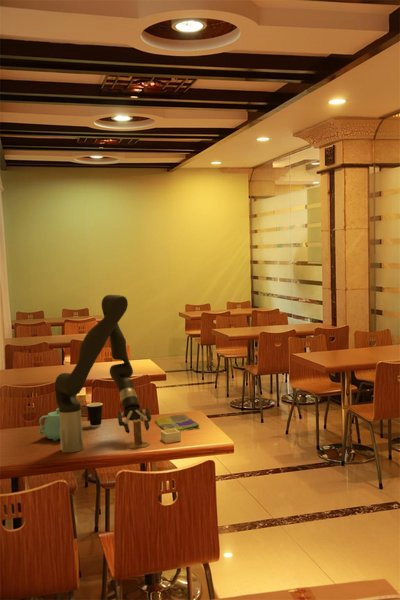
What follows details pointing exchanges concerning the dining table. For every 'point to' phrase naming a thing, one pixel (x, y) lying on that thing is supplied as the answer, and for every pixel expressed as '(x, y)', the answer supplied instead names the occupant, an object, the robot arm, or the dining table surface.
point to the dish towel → (176, 423)
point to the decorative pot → (51, 425)
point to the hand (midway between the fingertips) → (138, 431)
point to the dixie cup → (95, 414)
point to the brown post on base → (137, 437)
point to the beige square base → (170, 435)
